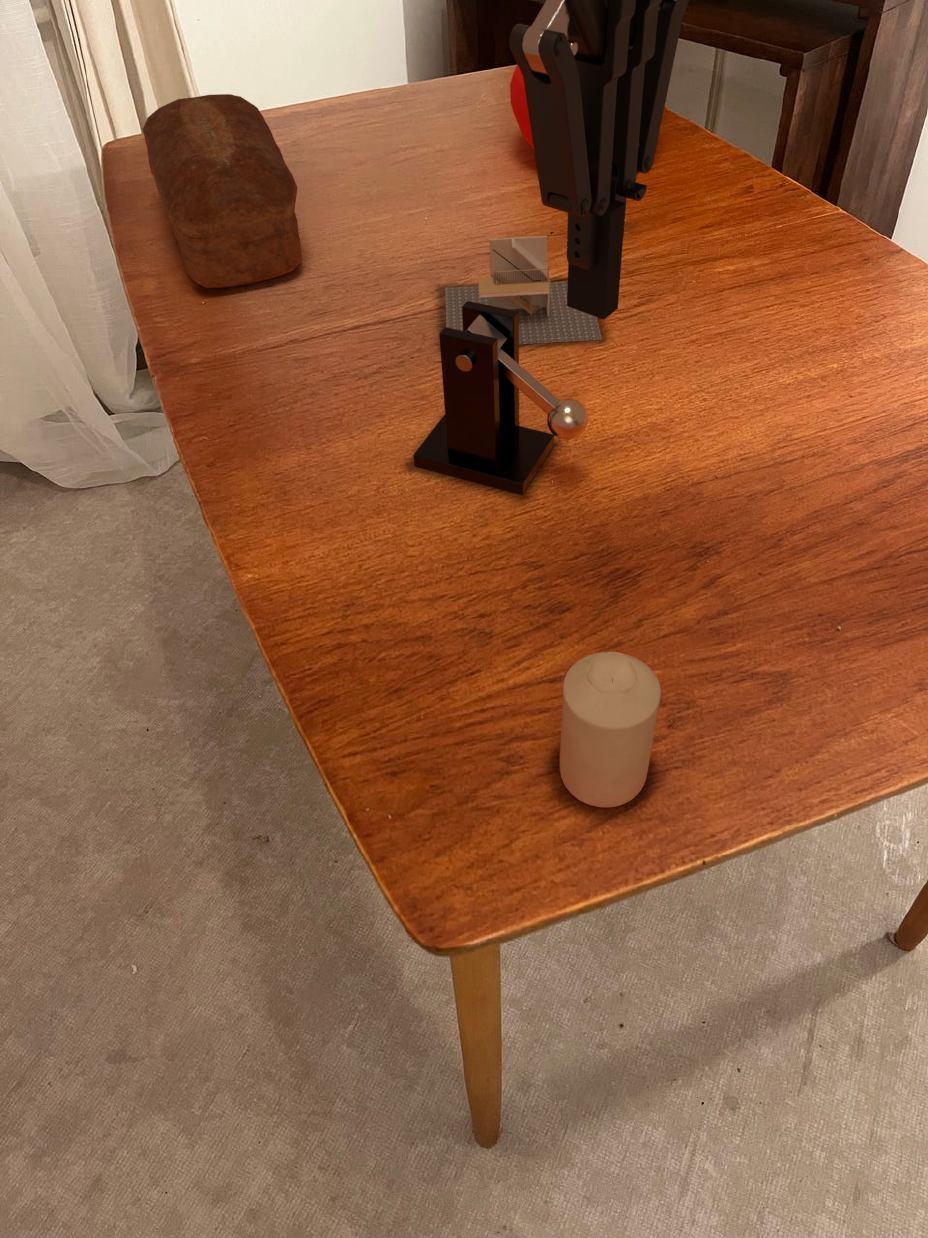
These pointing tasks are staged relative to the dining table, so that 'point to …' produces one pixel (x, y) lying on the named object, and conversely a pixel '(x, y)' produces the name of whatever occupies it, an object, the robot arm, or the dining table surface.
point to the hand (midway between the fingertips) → (592, 306)
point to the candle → (607, 727)
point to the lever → (536, 389)
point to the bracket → (482, 409)
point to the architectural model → (524, 294)
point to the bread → (224, 190)
